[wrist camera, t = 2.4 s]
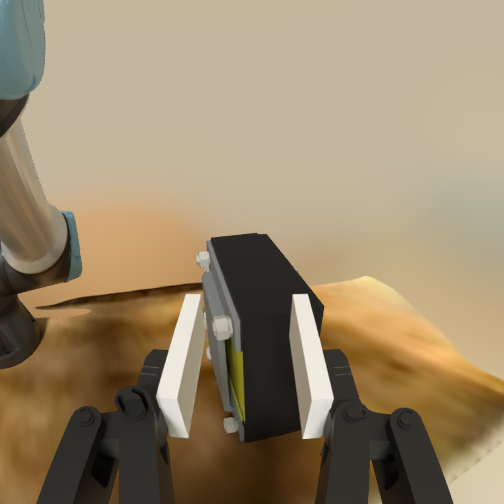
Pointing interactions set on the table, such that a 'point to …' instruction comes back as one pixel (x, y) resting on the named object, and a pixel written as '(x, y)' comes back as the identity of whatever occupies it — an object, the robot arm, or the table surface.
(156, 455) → the robot arm
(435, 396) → the table surface
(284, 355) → the electrical component
